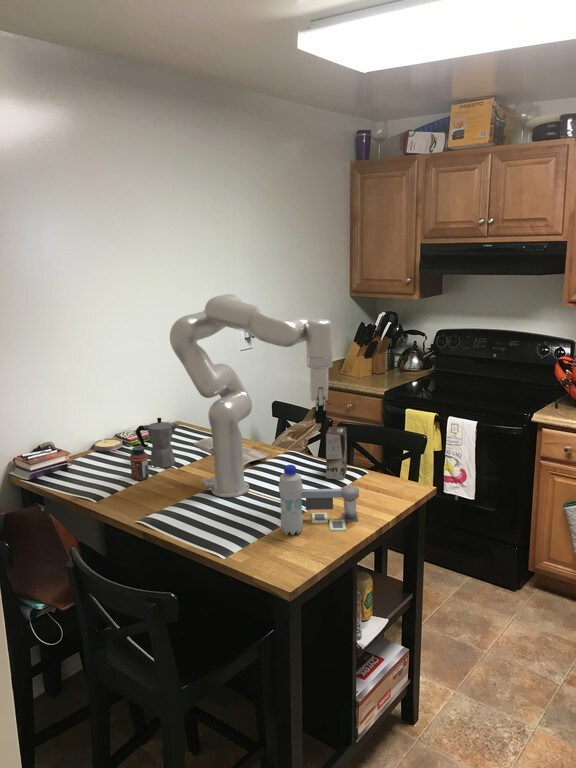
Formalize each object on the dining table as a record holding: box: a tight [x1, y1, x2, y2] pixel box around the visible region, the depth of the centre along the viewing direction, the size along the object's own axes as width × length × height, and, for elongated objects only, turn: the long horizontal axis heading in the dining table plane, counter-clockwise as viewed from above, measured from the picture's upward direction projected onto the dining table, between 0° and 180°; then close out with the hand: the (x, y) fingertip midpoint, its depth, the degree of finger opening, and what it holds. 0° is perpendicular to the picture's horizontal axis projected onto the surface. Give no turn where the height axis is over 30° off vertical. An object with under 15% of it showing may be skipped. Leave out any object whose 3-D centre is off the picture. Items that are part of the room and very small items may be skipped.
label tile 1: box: [311, 512, 329, 524], centre depth 184 cm, size 4×6×1 cm
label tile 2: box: [328, 519, 347, 532], centre depth 179 cm, size 4×6×1 cm
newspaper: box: [193, 436, 270, 469], centre depth 240 cm, size 35×12×4 cm, turn 40°
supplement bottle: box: [129, 445, 150, 481], centre depth 217 cm, size 6×6×11 cm
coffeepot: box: [135, 417, 179, 469], centre depth 229 cm, size 15×9×18 cm, turn 103°
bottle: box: [278, 464, 304, 536], centre depth 174 cm, size 7×7×20 cm
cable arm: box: [301, 485, 360, 511], centre depth 182 cm, size 21×5×6 cm, turn 89°
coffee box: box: [325, 426, 348, 480], centre depth 215 cm, size 9×6×16 cm
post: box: [341, 498, 359, 522], centre depth 183 cm, size 4×4×7 cm
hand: (320, 420), depth 187 cm, fingers open, 3 cm apart
